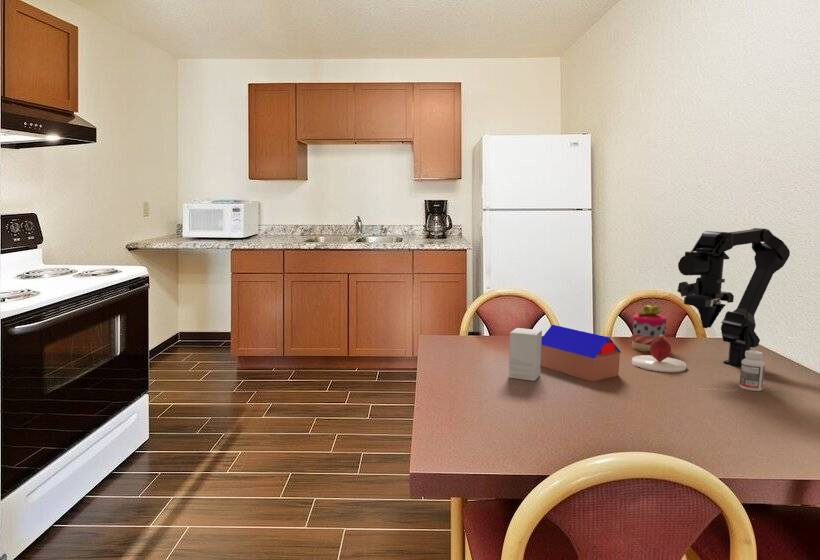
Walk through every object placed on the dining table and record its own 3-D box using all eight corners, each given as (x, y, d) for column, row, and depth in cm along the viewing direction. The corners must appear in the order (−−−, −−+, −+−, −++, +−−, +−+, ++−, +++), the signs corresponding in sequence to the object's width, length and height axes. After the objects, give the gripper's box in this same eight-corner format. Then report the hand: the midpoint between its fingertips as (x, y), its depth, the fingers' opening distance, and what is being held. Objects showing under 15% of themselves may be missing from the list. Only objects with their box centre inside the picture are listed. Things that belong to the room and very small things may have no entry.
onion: (672, 364, 178) (674, 337, 177) (651, 363, 179) (653, 336, 178) (667, 359, 183) (669, 333, 182) (647, 358, 184) (649, 332, 183)
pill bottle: (747, 384, 164) (751, 348, 162) (767, 390, 159) (770, 353, 158) (734, 386, 161) (737, 350, 160) (753, 392, 156) (757, 355, 155)
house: (563, 360, 185) (565, 322, 184) (620, 376, 169) (622, 335, 168) (536, 365, 178) (538, 326, 177) (592, 382, 162) (595, 339, 161)
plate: (648, 356, 192) (648, 352, 191) (695, 367, 180) (696, 363, 180) (622, 363, 182) (622, 359, 182) (669, 375, 171) (670, 371, 171)
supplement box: (540, 375, 168) (543, 329, 166) (534, 381, 161) (536, 334, 159) (514, 371, 171) (516, 327, 169) (507, 377, 164) (509, 331, 162)
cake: (625, 344, 208) (628, 301, 206) (654, 344, 209) (657, 301, 207) (639, 352, 197) (643, 306, 196) (670, 352, 199) (674, 306, 197)
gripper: (699, 270, 188) (695, 320, 190) (668, 273, 177) (664, 326, 179) (736, 274, 180) (731, 326, 182) (706, 277, 168) (701, 333, 170)
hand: (706, 327), depth 178 cm, fingers closed
